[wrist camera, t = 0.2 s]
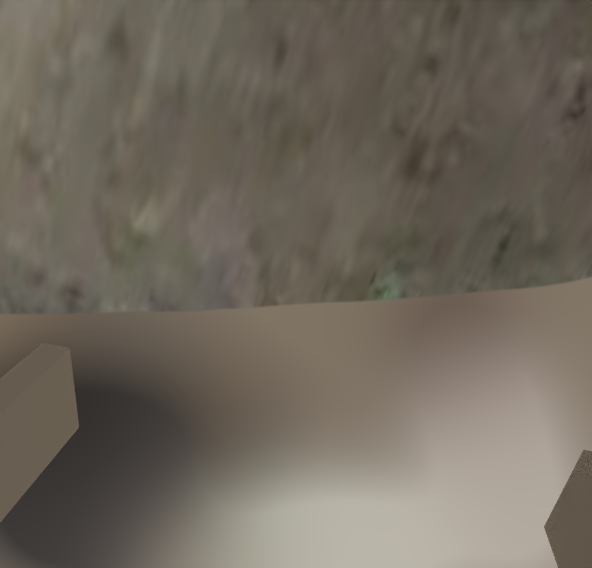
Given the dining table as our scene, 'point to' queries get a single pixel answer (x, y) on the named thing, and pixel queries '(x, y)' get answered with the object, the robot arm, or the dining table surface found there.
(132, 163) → the dining table surface
